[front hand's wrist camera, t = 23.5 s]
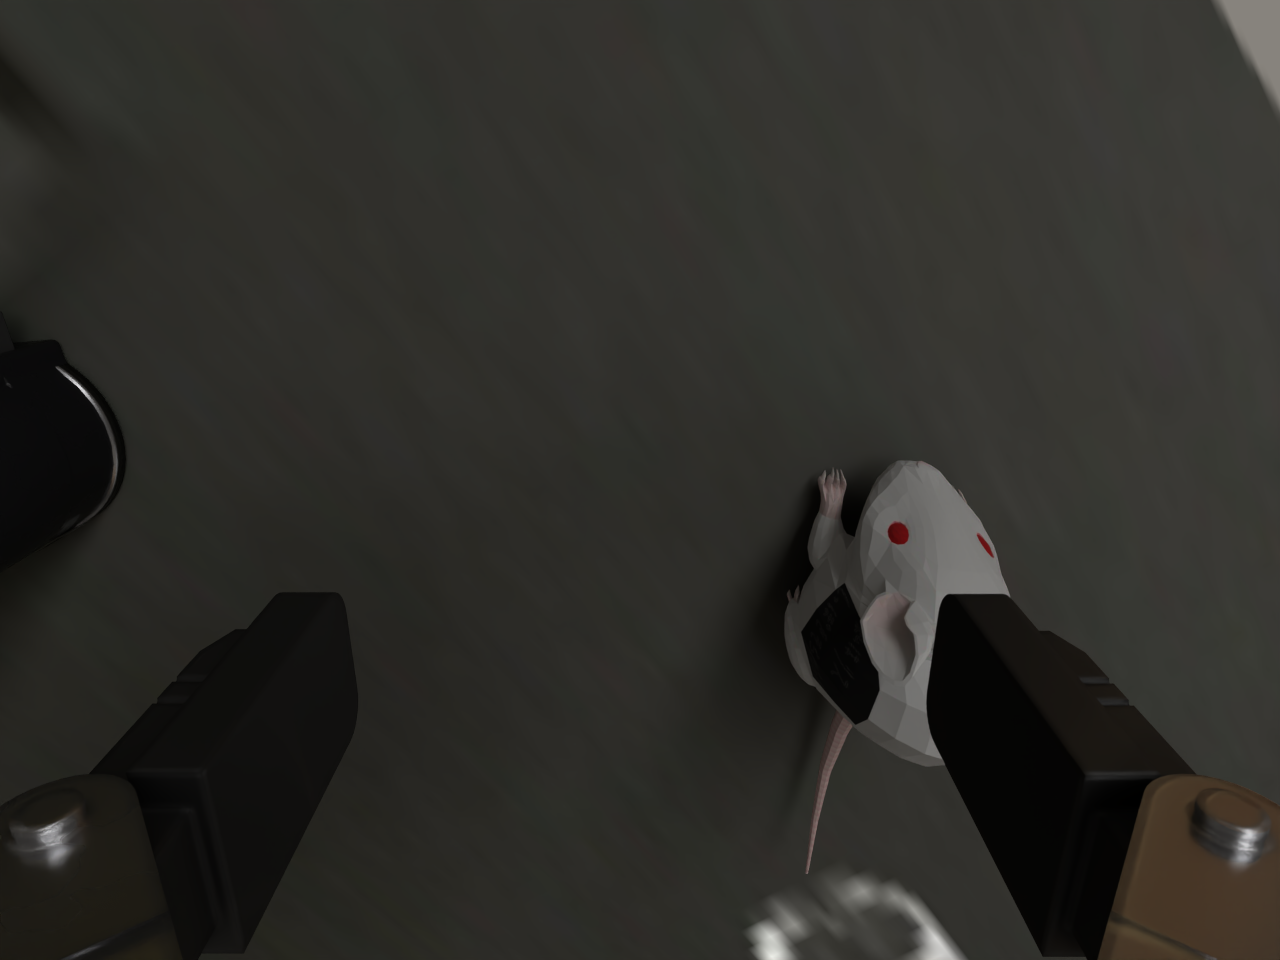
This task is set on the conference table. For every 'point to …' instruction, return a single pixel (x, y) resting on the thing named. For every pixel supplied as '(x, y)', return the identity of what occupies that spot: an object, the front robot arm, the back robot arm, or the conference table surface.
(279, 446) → the conference table surface
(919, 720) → the toy
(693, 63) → the conference table surface
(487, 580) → the conference table surface
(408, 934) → the conference table surface
